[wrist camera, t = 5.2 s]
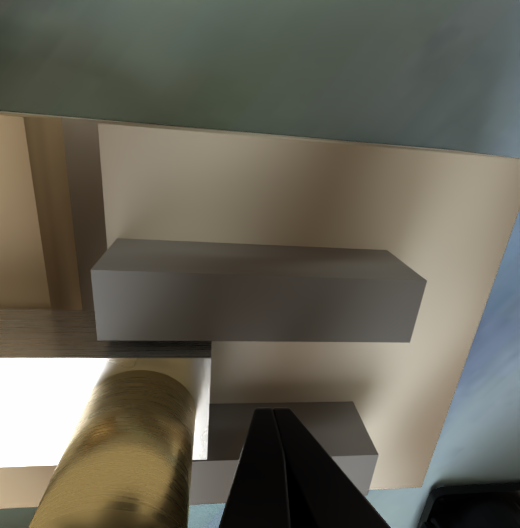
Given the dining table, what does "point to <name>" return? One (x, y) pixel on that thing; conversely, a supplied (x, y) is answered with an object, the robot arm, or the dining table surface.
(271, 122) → the dining table surface
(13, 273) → the door mockup
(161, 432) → the slide bolt
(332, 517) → the robot arm
